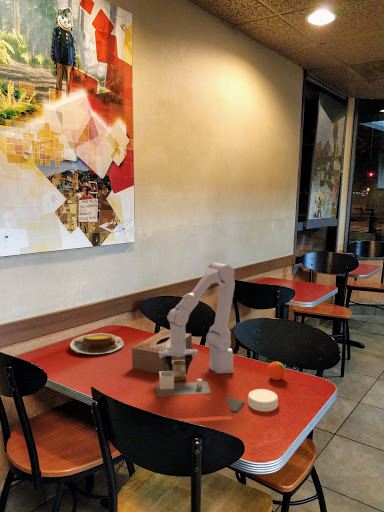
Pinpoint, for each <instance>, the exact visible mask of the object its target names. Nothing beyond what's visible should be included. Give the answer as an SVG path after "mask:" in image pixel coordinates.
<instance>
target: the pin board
mask: <svg viewBox="0 0 384 512" xmlns="http://www.w3.org/2000/svg"><path fill="white" fill-rule="evenodd" d="M156 392H157V395H156V396H157V397H165V396H166V397H167V396H168V397H169V396H182V395H183V396H185V395H201V394H202V395H203V394H212V392H211V389H210V385H209V383H208V381H203V378H197V379H196V381H195V382H181V383H174V392H173V393H160V384H156Z"/></svg>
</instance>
